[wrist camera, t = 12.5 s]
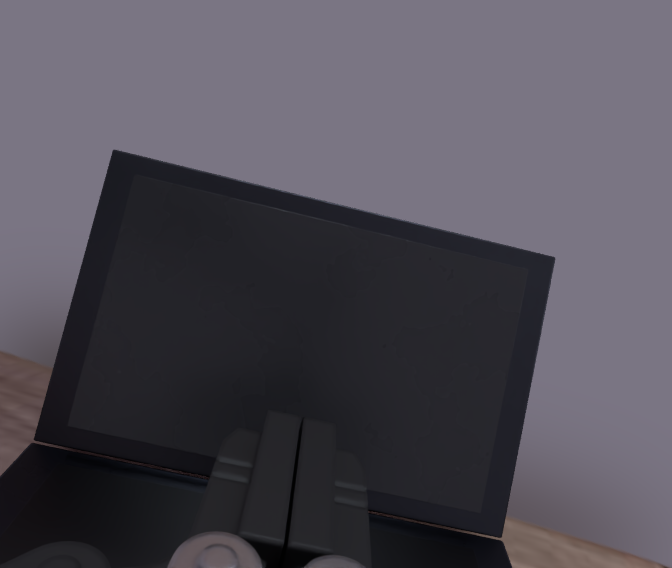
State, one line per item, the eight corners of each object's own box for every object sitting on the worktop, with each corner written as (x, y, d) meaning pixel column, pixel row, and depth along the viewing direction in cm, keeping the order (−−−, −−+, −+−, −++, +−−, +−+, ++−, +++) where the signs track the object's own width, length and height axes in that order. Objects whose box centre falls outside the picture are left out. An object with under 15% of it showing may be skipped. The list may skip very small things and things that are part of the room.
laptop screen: (557, 256, 19) (548, 258, 20) (111, 147, 18) (118, 154, 19) (503, 540, 18) (495, 532, 19) (31, 441, 17) (41, 437, 18)
